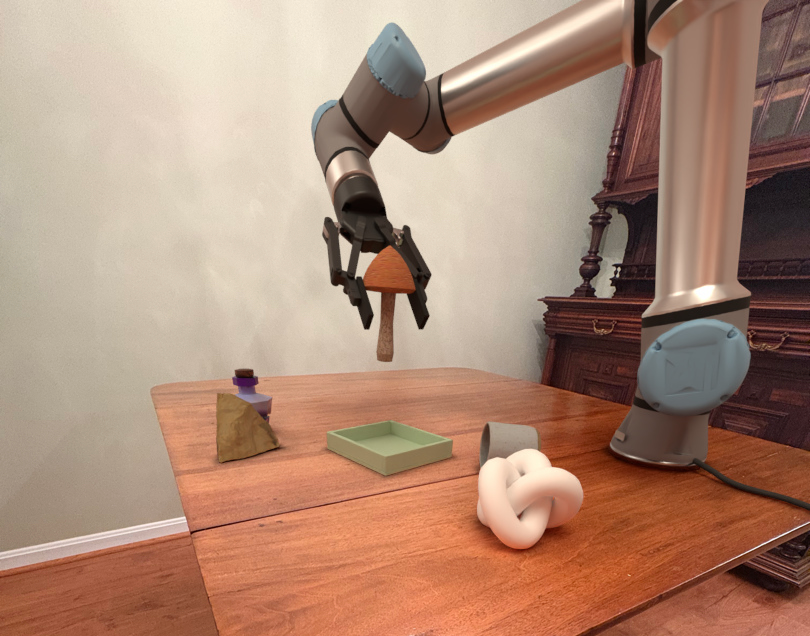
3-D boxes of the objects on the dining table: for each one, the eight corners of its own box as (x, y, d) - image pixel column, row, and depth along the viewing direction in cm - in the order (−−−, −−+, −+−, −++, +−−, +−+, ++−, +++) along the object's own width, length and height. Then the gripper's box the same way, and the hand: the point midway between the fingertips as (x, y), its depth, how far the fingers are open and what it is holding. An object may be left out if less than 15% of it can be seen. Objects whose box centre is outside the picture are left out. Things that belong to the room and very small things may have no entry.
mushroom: (420, 364, 64) (424, 244, 56) (368, 365, 62) (366, 240, 54) (404, 358, 71) (407, 249, 63) (357, 358, 68) (354, 246, 61)
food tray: (451, 457, 73) (453, 439, 71) (385, 476, 65) (385, 456, 63) (391, 435, 84) (391, 419, 82) (327, 449, 75) (326, 431, 74)
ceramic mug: (538, 479, 65) (547, 429, 61) (484, 479, 64) (491, 428, 61) (520, 458, 74) (527, 413, 70) (473, 457, 74) (478, 412, 70)
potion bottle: (231, 443, 77) (218, 373, 71) (228, 431, 84) (216, 366, 78) (280, 439, 80) (271, 371, 74) (273, 427, 87) (265, 364, 81)
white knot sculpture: (448, 513, 54) (453, 444, 49) (531, 504, 57) (544, 438, 52) (487, 560, 44) (498, 479, 40) (585, 546, 47) (605, 470, 43)
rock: (280, 428, 78) (221, 422, 75) (281, 395, 70) (216, 387, 68) (279, 478, 74) (217, 474, 71) (279, 449, 66) (210, 444, 63)
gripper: (409, 228, 73) (449, 340, 68) (286, 216, 65) (322, 342, 60) (425, 182, 66) (470, 303, 61) (290, 162, 58) (331, 299, 53)
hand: (397, 322), depth 61 cm, fingers closed on mushroom, 8 cm apart
